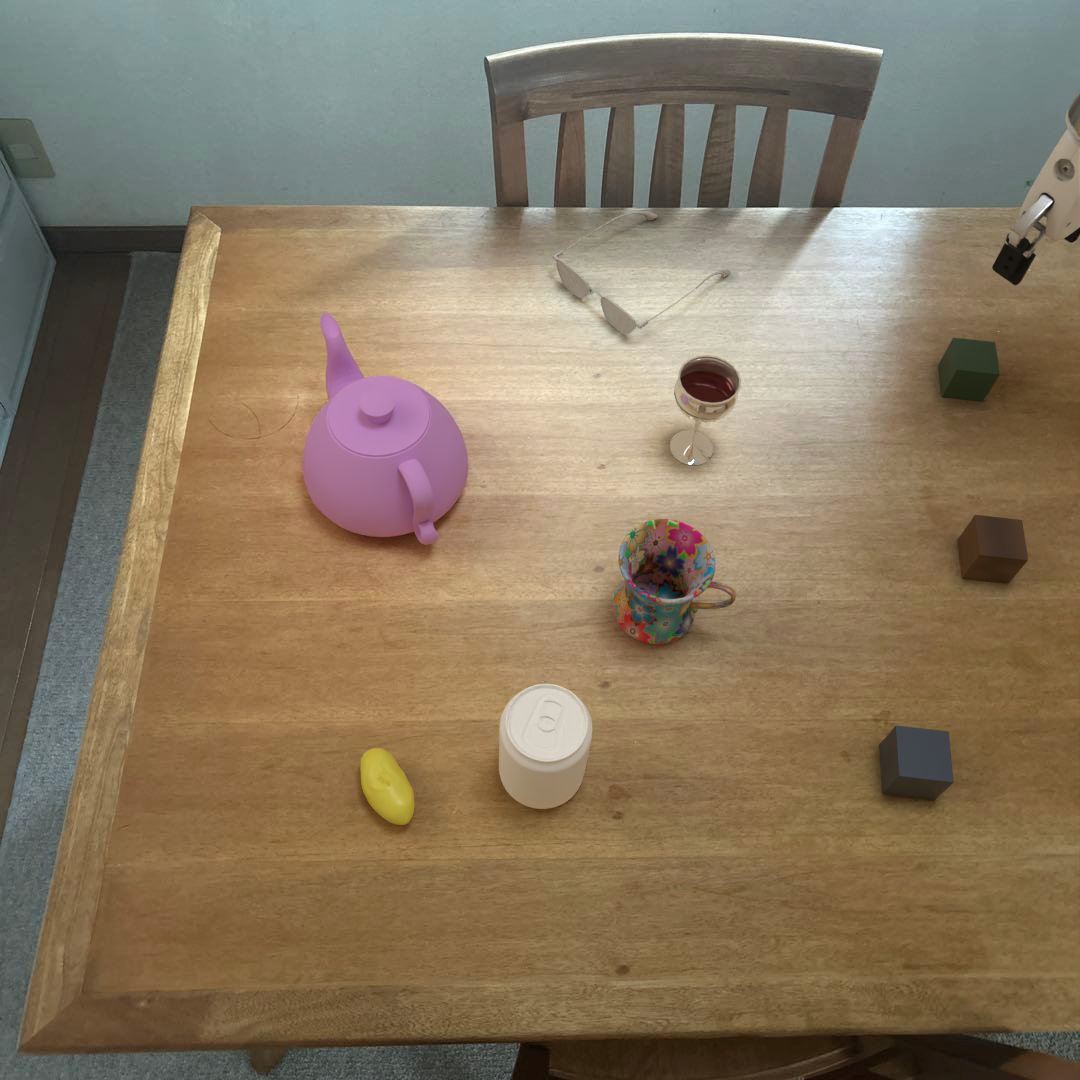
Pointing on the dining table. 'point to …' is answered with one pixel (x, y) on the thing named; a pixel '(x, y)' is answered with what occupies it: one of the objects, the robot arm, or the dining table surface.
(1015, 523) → the walnut block
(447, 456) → the teapot
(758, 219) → the dining table surface
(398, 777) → the yellow potato
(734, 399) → the wineglass
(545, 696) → the beverage can
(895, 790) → the block
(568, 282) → the eyeglasses
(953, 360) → the green block
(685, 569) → the mug
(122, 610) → the dining table surface
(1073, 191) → the robot arm
